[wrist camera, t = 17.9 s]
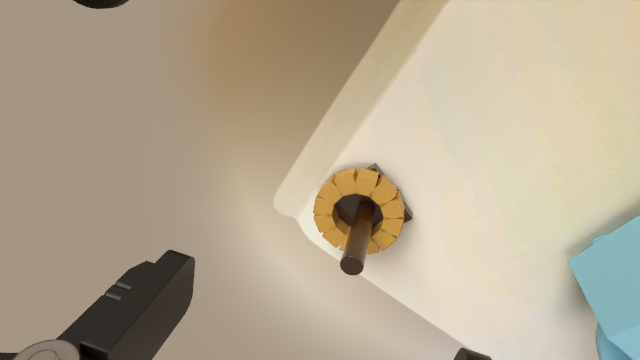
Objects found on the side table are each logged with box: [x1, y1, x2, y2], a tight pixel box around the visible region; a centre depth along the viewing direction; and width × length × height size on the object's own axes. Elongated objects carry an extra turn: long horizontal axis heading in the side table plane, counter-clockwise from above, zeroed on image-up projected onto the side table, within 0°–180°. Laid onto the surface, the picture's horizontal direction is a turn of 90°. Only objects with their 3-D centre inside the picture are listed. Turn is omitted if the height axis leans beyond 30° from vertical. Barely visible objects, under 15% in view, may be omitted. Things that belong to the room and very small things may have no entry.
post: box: [335, 163, 413, 275], centre depth 39 cm, size 7×7×11 cm
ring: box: [313, 168, 405, 254], centre depth 42 cm, size 9×9×2 cm
